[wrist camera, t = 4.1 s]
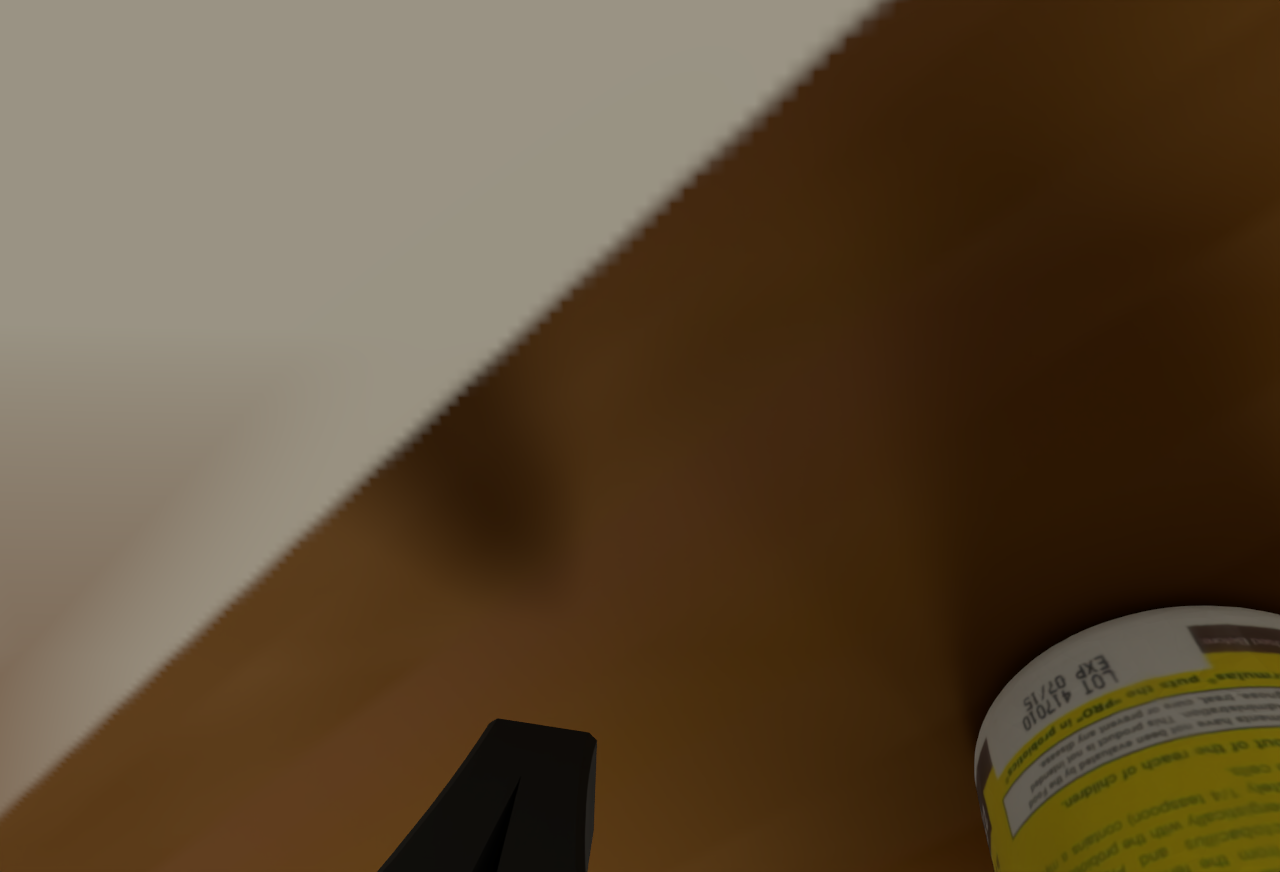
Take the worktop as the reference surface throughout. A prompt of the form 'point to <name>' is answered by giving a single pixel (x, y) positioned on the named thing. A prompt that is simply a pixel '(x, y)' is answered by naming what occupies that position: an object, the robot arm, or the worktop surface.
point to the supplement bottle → (1139, 748)
